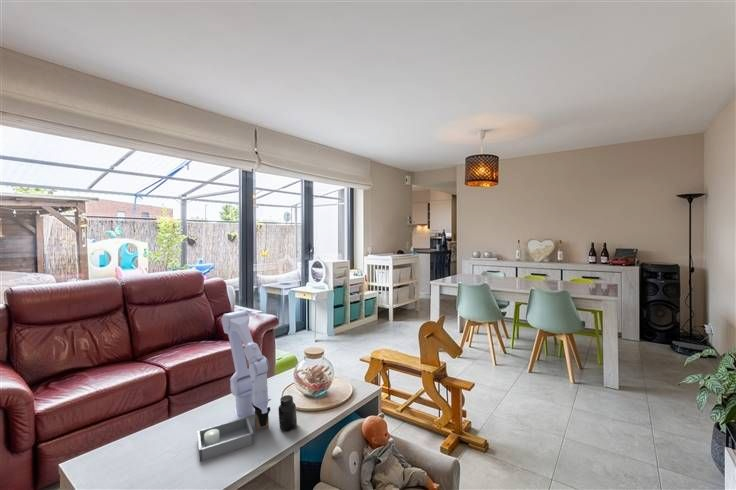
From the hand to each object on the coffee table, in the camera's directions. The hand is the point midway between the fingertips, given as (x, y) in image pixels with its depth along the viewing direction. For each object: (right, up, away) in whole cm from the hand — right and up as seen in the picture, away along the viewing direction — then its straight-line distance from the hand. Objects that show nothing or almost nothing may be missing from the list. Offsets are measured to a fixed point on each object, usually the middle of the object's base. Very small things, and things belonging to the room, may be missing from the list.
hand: (261, 422), depth 137 cm
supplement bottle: (+11, -2, -1) cm, 11 cm away
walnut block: (0, -2, 0) cm, 2 cm away
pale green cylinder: (-14, -2, -12) cm, 19 cm away
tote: (-10, -3, -10) cm, 15 cm away
